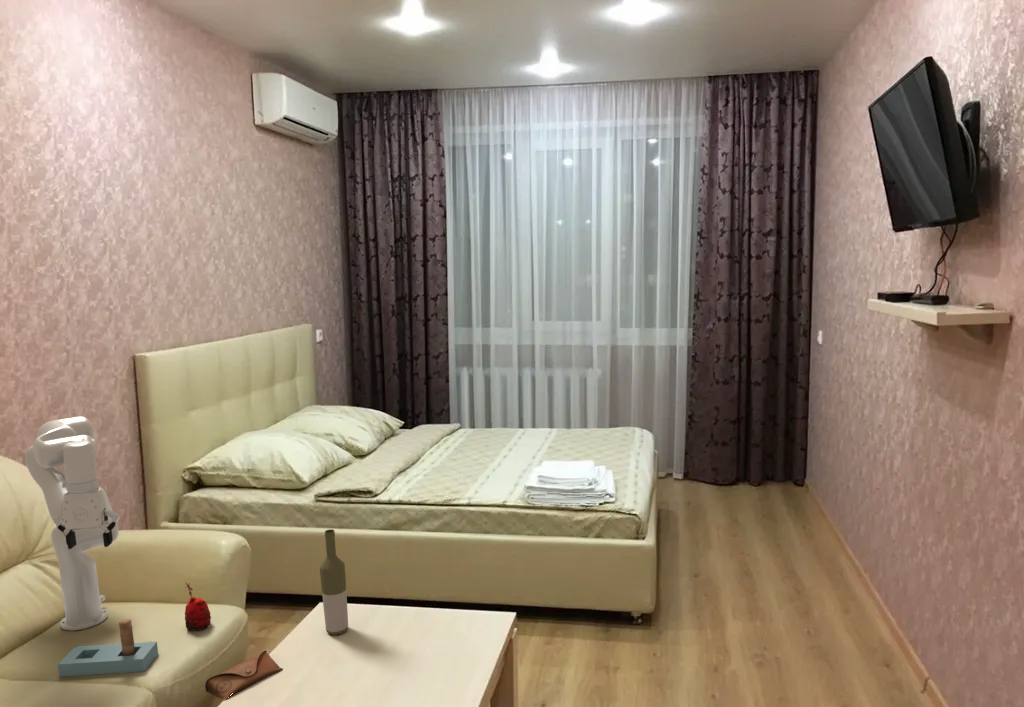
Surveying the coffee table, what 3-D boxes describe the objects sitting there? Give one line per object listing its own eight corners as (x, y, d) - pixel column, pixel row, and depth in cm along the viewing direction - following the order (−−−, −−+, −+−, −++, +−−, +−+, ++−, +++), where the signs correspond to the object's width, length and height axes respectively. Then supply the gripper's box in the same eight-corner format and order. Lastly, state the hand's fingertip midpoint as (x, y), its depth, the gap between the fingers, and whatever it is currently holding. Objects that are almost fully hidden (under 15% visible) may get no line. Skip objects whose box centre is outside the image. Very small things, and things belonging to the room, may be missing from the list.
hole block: (76, 658, 211) (75, 646, 210) (158, 653, 212) (156, 641, 211) (59, 676, 202) (57, 664, 201) (144, 671, 203) (142, 659, 202)
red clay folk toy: (216, 624, 227) (211, 576, 225) (195, 635, 221) (190, 586, 219) (201, 618, 231) (196, 571, 229) (179, 628, 225) (174, 580, 223)
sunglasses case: (224, 702, 187) (214, 675, 188) (211, 707, 191) (202, 681, 193) (285, 668, 201) (276, 644, 203) (273, 674, 205) (263, 650, 207)
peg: (127, 660, 208) (121, 619, 207) (138, 660, 208) (133, 618, 207) (122, 666, 205) (116, 625, 204) (133, 666, 206) (128, 624, 204)
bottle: (351, 633, 218) (344, 533, 214) (326, 639, 216) (318, 537, 211) (347, 622, 225) (339, 524, 220) (323, 628, 222) (315, 529, 218)
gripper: (42, 492, 205) (50, 553, 207) (108, 488, 205) (116, 549, 208) (57, 483, 212) (65, 542, 214) (121, 480, 213) (128, 539, 215)
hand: (90, 546), depth 211 cm, fingers open, 9 cm apart
